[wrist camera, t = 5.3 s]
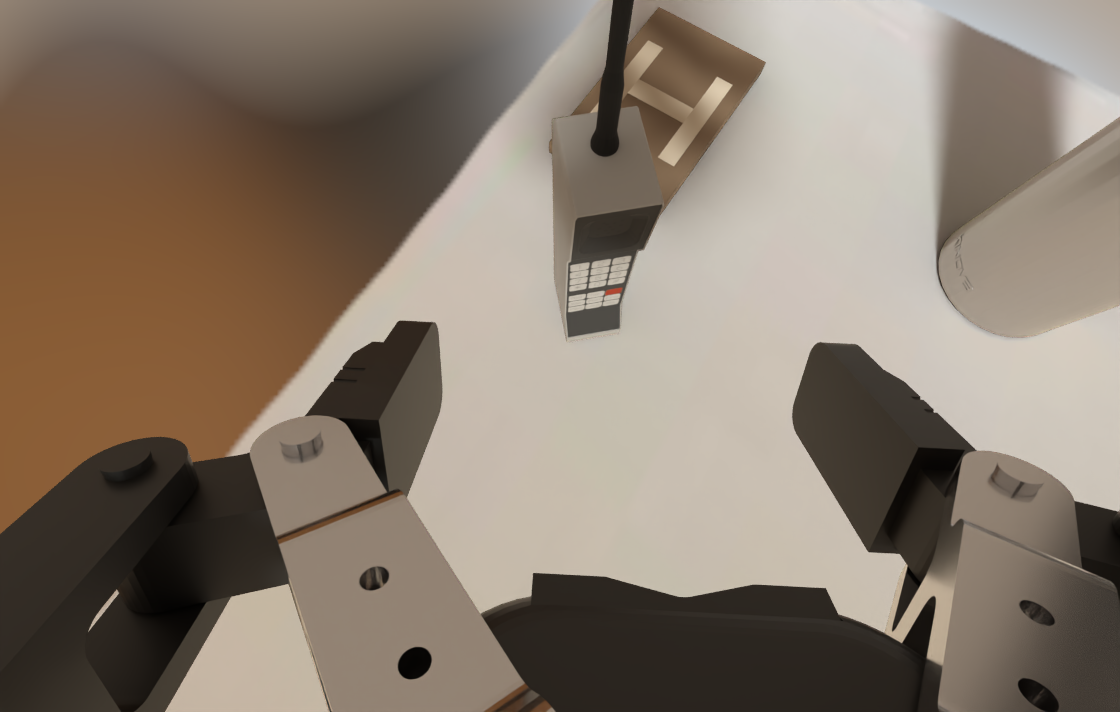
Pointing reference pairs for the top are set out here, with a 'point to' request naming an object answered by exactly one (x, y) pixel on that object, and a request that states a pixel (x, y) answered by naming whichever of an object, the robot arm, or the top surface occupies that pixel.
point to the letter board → (680, 92)
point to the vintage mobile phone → (601, 198)
